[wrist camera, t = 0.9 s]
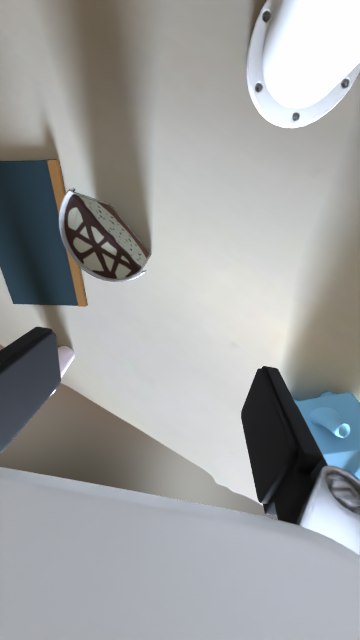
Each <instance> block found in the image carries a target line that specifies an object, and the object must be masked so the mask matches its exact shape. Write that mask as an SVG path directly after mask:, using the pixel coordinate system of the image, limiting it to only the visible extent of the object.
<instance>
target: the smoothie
mask: <svg viewBox="0 0 360 640" xmlns="http://www.w3.org/2000/svg"><path fill="white" fill-rule="evenodd" d="M58 356H59V365H60V373H61V377H62V376H63V374H64V373H65V371H66V370H67V368H68V367H69V365H70V363H71V362H72V360H73V359H74V357H75V354H74V352H73V350H72V349H71V348H69V347H67V346H61V347H59V348H58ZM55 390H56V389H55ZM53 393H54V392H53ZM51 395H52V394H51ZM51 395H50V396H51Z"/></svg>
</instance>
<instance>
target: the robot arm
mask: <svg viewBox="0 0 360 640" xmlns="http://www.w3.org/2000/svg"><path fill="white" fill-rule="evenodd" d="M263 20H266V22H264V21H263ZM359 72H360V0H266V2H265V4H264V5H263V7H262V9H261V11H260V13H259V16H258V18H257V20H256V22H255V25H254V29H253V32H252V35H251V39H250V43H249V48H248V53H247V64H246V73H247V84H248V88H249V93H250V96H251V98H252V101H253V103H254V105H255V107H256V108H257V110H258V111H259V113H260V114H261V115H262V116H263V117H264V118H265V119H266V120H267V121H269V122H271V123H273V124H274V125H277V126H280V127H284V128H296V127H301V126H305V125H307V124H310V123H312V122H314V121H316V120H318V119H319V118H321V117H322V116H324V115H325V114H326V113H327V112H329V111H330V110H331V109H332V108H334V107H335V105H336V104H337V103H338V102H339V101H340V100H341V99H342V98H343V97H344V96H345V94H346V93H347V92H348V90H349V89H350V88H351V86H352V85H353V83H354V81H355V79H356V77H357V75H358V74H359ZM341 85H342V86H343V88H342V86H341ZM255 89H258V90H259V92H256V91H255ZM292 117H294V118H295V121H293V120H292ZM60 382H61V373H60V365H59V356H58V348H57V339H56V334H55V333H53V331H52V329H49V328H43V327H35V328H34V329H32V330H31V331H29V332H28V333H26V334H25V335H23V336H22V337H20V338H19V339H17V340H16V341H14V342H13V343H11V344H10V345H8V346H7V347H5V348H4V349H2V350H1V351H0V454H1V453H2V452H3V451H4V450H5V449H6V448H7V446H8V445H9V444H10V443H11V442H12V440H13V439H14V438H15V437H16V436H17V434H18V433H19V432H20V431H21V430H22V428H23V427H24V426H25V425H26V424H27V423H28V421H29V420H30V419H31V418H32V417H33V415H34V414H35V413H36V412H37V411H38V410H39V408H40V407H41V406H42V405H43V404H44V402H45V401H46V400H47V399H48V398H49V397H50V395H51V394H52V393H53V392H54V391H55V389H56V388H57V387H58V386H59V384H60ZM241 419H242V424H243V429H244V434H245V439H246V444H247V449H248V453H249V458H250V463H251V468H252V473H253V478H254V483H255V488H256V493H257V497H258V500H259V502H260V503H263V507H264V511H265V514H266V515H272V516H277V518H278V520H277V519H273V518H269V517H264V516H259V515H254V514H250V513H244V512H240V511H235V510H230V509H226V508H221V507H215V506H210V505H205V504H200V503H194V502H189V501H184V500H178V499H173V498H168V497H162V496H157V495H152V494H146V493H141V492H135V491H130V490H125V489H119V488H114V487H109V486H103V485H98V484H92V483H87V482H81V481H76V480H70V479H65V478H59V477H54V476H47V475H42V474H36V473H31V472H25V471H20V470H14V469H9V468H2V467H0V640H360V481H359V480H358V479H357V478H356V477H355V476H353V475H352V474H351V473H349V472H347V471H346V470H344V469H342V468H339V467H337V466H331V465H328V464H327V462H326V460H325V458H324V456H323V455H322V453H321V451H320V449H319V447H318V445H317V443H316V441H315V439H314V437H313V435H312V433H311V431H310V429H309V427H308V425H307V423H306V422H305V420H304V418H303V416H302V414H301V412H300V410H299V408H298V406H297V405H296V403H295V402H294V400H293V398H292V396H291V394H290V392H289V390H288V388H287V386H286V384H285V382H284V380H283V378H282V376H281V374H280V372H279V370H278V369H277V368H272V367H267V366H263V367H262V369H258V370H257V372H256V375H255V377H254V380H253V383H252V385H251V388H250V390H249V393H248V396H247V398H246V401H245V403H244V406H243V409H242V412H241Z"/></svg>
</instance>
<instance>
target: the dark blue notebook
mask: <svg viewBox="0 0 360 640" xmlns="http://www.w3.org/2000/svg"><path fill="white" fill-rule="evenodd" d="M65 195H66V192H65V187H64V182H63V177H62V172H61V167H60V162H59V160H56V159H54V160H42V161H1V162H0V267H1V270H2V273H3V276H4V278H5V281H6V284H7V287H8V290H9V293H10V296H11V298H12V301H13V304H37V305H72V306H79V307H86V306H87V305H88V304H87V299H86V294H85V289H84V284H83V279H82V274H81V269H80V267H79V266H78V265H77V264H76V263H75V261H74V260H73V259H72V258H71V256H70V255H69V253H68V252H67V250H66V248H65V246H64V243H63V241H62V238H61V234H60V229H59V212H60V207H61V203H62V201H63V199H64V196H65Z"/></svg>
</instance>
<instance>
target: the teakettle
mask: <svg viewBox="0 0 360 640" xmlns="http://www.w3.org/2000/svg"><path fill="white" fill-rule="evenodd" d="M293 400H294V402H295V403H296V405H297V406H298V408H299V410H300V412H301V414H302V416H303V418H304V420H305V422H306V423H307V425H308V427H309V429H310V431H311V433H312V435H313V437H314V439H315V441H316V443H317V445H318V447H319V449H320V451H321V453H322V455H323V456H324V458H325V460H326V462H327V464H328V465H331V466H337V467H339V468H342V469H344V470H346V471H347V472H349V473H351V474H352V475H353V476H355V477H356V478H357V479H358V480H359V481H360V402H359V401H358V400H357V399H356V398H355V396H354V395H353V394H352V393H351V392H347V393H342V394H336V395H335V394H334V393H333V392H324V393H322V394H321V395H320V397H319V398H313V399H307V400H302V401H297V400H296V399H294V398H293Z"/></svg>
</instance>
